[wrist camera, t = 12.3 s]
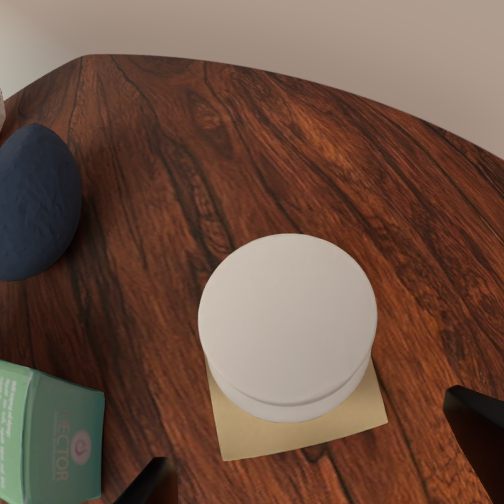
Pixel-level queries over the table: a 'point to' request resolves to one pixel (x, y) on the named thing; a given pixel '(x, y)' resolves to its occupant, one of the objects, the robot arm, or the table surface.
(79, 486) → the box
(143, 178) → the table surface
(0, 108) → the geometric sphere
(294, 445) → the sticky note
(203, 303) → the pill bottle
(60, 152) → the decorative stone
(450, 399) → the robot arm
